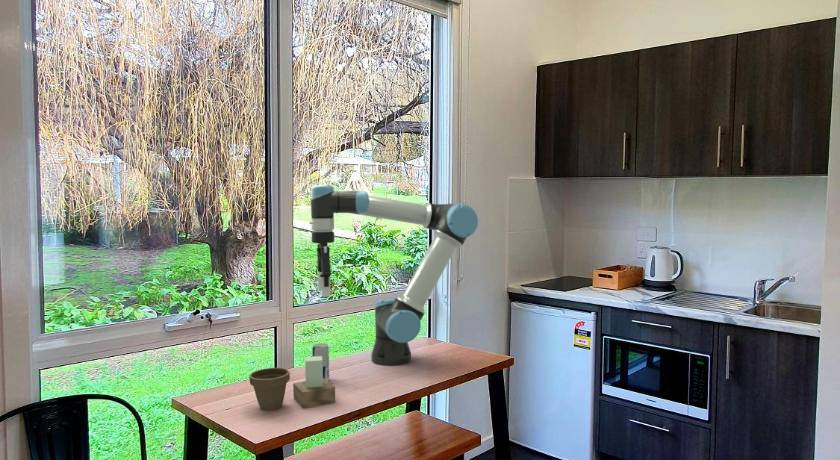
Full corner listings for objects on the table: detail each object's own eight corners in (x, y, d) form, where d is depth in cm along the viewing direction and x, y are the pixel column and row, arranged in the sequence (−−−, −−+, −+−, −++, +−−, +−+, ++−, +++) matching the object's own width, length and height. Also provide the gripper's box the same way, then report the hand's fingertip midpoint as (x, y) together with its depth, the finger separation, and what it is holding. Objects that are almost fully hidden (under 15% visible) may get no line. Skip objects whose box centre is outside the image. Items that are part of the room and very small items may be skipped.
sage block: (322, 381, 183) (321, 356, 182) (322, 386, 178) (322, 360, 177) (305, 383, 182) (305, 357, 181) (305, 387, 177) (305, 361, 176)
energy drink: (309, 380, 199) (309, 345, 198) (322, 377, 203) (321, 342, 202) (319, 384, 195) (318, 348, 195) (332, 380, 199) (331, 345, 199)
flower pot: (253, 416, 167) (252, 380, 167) (247, 403, 178) (246, 370, 177) (294, 409, 172) (293, 375, 171) (286, 398, 182) (285, 365, 182)
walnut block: (325, 393, 186) (324, 378, 186) (335, 403, 178) (335, 387, 177) (293, 399, 182) (293, 383, 182) (302, 409, 173) (302, 392, 173)
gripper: (308, 229, 212) (310, 288, 213) (314, 233, 188) (316, 299, 189) (329, 229, 214) (331, 287, 215) (338, 232, 190) (340, 298, 191)
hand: (324, 293), depth 202 cm, fingers open, 13 cm apart
